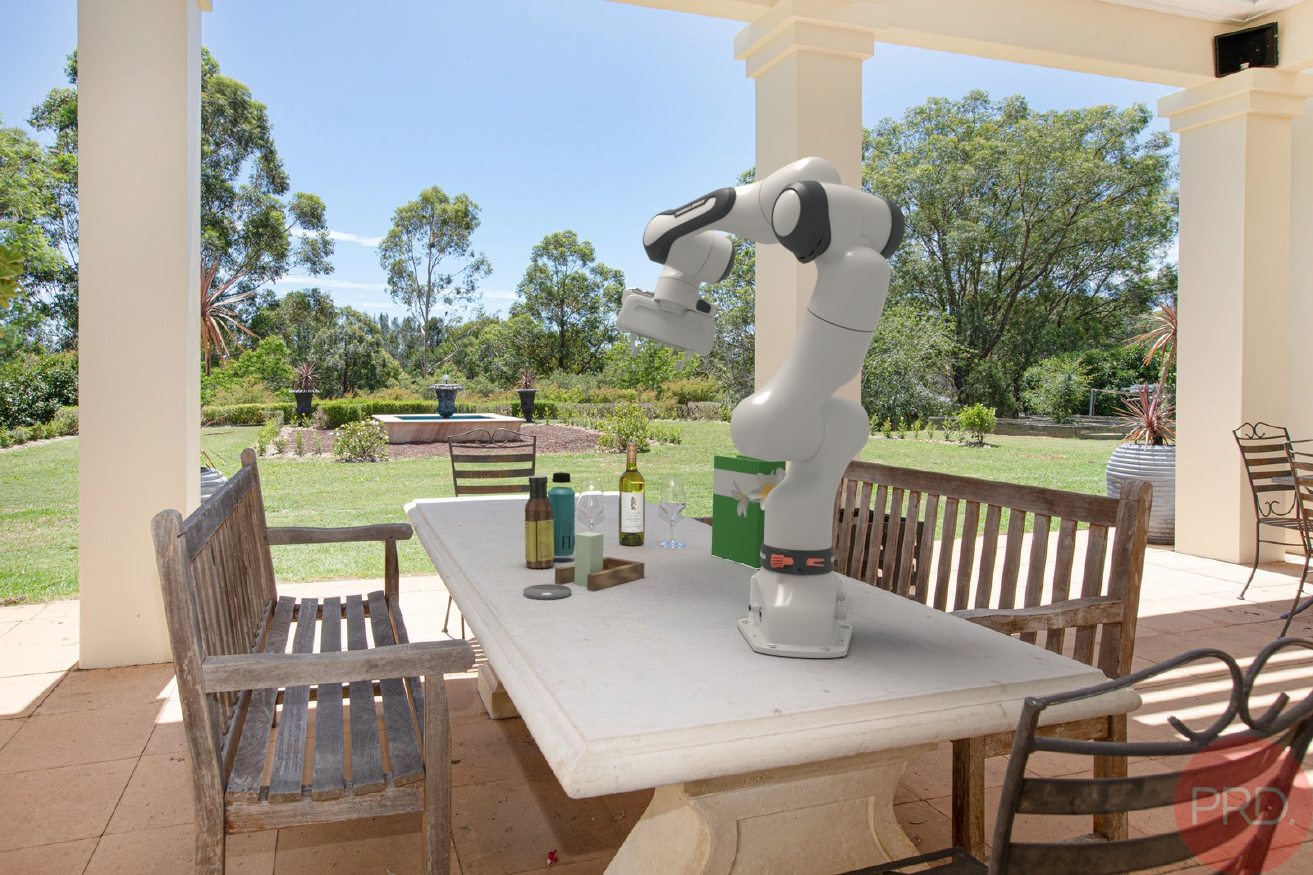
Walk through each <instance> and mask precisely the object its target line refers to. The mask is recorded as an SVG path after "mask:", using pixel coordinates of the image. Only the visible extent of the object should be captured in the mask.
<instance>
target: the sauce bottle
mask: <svg viewBox="0 0 1313 875" xmlns="http://www.w3.org/2000/svg"><path fill="white" fill-rule="evenodd" d="M548 482H549V481H548V476H546V475H530V476H528V483H529V499H528V500H527V502H526V503H525V506H524V533H525V534H524V544H525V545H524V546H525V547H524V549H525V550H524V551H525V562H526V567H528V568H529V569H536V568H538V569H540V570H541V568H543V569H549V568H552V567H553V566H554V564H555V556H554V525H553V510H552V505H551V504H550V501H549V499H548V487H547V485H548ZM538 569H537V570H538Z"/></svg>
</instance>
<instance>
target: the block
mask: <svg viewBox="0 0 1313 875" xmlns="http://www.w3.org/2000/svg"><path fill="white" fill-rule="evenodd" d="M574 537H575V547H574V549H575V550H574V564H575V580H574V581H573V582H574V584H575V585H579V586H584V587H585V586H586V587H587V575H588V574H592V573H596V572H600V571H603V558H604V533H599V532H593V531H585V532H581V533H580V532H579V533H575V535H574Z"/></svg>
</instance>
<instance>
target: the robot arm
mask: <svg viewBox="0 0 1313 875" xmlns="http://www.w3.org/2000/svg"><path fill="white" fill-rule="evenodd" d="M905 222H906V220H905V216H904V213H903V211H902V209H901V208H900V206H899V205H898V204H897V203H895V202H894V201H892V200H890V199H889V198H888V197H887V198H886V197H885V196H883V195H881V194H876V193H870V192H866V191H863V190H860V189H859V190H858V189H855V188H853V187H851V186H849V185H842V180H841V177H840V174H839V172H838V170H837V169H836V167H835V166H834V165H833V164H832V163H831V162H830V161H829V160H827V159H825V158H823V157H821V156H806V157H804V158H802V159H798V160H796V161H793V162H791V163H789V164H787V165H784V166H783V167H781V168H779V169H777V170H776V171H774V172H773V173H771V174H770V175H768V176H767V177H765V178H763V179H761V180H758V181H755V182H752V183H748V184H744V185H739V186H730V187H729V186H728V187H722V188H719V189H715V190H713V191H711V192H709V193H706V194H704V195H702V196H701V197H698V198H696V199H694V200H692V201H690V202H688V203H686V204H684V205H682V206H680V207H677V208H674V209H667V210H664V211H661V212H660V213H657V214H656V215H655V216H653V217H652V218H651V219H650V221H648V224H647V225H646V226H645V229H644V232H643V235H642V245H643V248H644V250H645V254H646V255H647V257H648V259H649V261H651V262H654V263H657V264H660V265H662V266H663V268H662V271H661V274H660V275H659V276H658V279H657V282H656V285H655V289H654V292H653V291H648V290H644V289H642V288H638V287H637V286H633V287H629V288H627V289H625V290H624V291H623V293H622V297H621V300H620V302H621V305H622V306H621V308H620V311H619V312H618V316H617V318H616V320H615V326H616V329H617V330H618V331H621V332H623V333H627V334H630V336H629V338H628V340H629V343H630V348H631V350H630V353H629V357H631V358H634V359H637V358H638V355H639V352H640V348H638V347H636V344H635V343H636V342H635V341H637V340H638V339H637V338H638V337H640V338H643V339H647V340H650V341H654V342H657V343H658V344H659V343H660V344H663V345H665V346H669V347H673V348H675V349H679V350H682V351H684V354H683V355H684V356H685V357H684V358H683V359H682V360H680V361H679V360H676V362H675V366H674V369H673V370H674V371H676V372H679V373H680V372H682V370H683V367H684V364H685V363H687V361H689V360H690V358H692V357H693V356H692V355H693V354H695V355H698V356H701V357H706V356H709V355H710V354H711V352H712V350H713V346H714V342H715V336H716V323H715V322H716V321H715V320H714V318H715V316H716V314H717V308H716V306H715V305H713V304H712V303H711V302H709V301H708V300H706V299H705V298H703V297H702V296H701V295H700V288H701V284H702V283H706V284H711V285H713V284H718V283H719V282H723V281H724V280H726V279H727V278H728V277H729V276H730V275H731V273H732V271H733V268H734V266H735V261H736V249H735V245H734V244H733V241H732V240H730V239H729V238H727V237H726V236H724V235H722V234H720V233H718V231H719V232H724V233H728V234H731V235H735V236H738V237H741V238H744V239H746V240H749V241H751V242H755V243H758V244H761V245H762V244H763V245H776V244H780V245H781V246H783V248H785V249H786V250H788V251H789V252H790V253H792V254H793V255H794V257H795V258H796V260H797V261H798V262H799V263H801V264H802V265H803V264H809V263H811V262H814V264H815V268H816V269H817V271H816V272H817V278H816V281H815V282H816V283H815V285H814V289H813V291H812V294H811V296H810V298H809V302H808V304H807V307H806V310H805V313H804V315H803V319H802V320H801V321H802V322H801V324H800V326H799V329H798V331H797V334H796V337H795V339H794V342H793V344H792V346H791V348H790V351H789V353H788V355H787V356H786V358H785V359H784V360H783V362H782V364H780V367H779V368H777V370H776V371H775V373H773V375H772V376H771V377H770V378H769V379H768V380H767V381H766V383H764V385H763V386H761V387H760V388H759V389H758V390H756V391H755V392H754V393H752V394H750V395H749V396H746V397H745V398H743V399H742V400H740V402H738V404H737V405H736V407H735V408H734V409H733V412H732V414H731V417H730V418H731V419H730V422H729V423H730V424H729V430H730V436H731V437H730V438H731V440H732V443H733V444H734V446H735V448H736V449H737V451H738V452H739V453H740V455H743V456H747V457H750V458H754V459H759V460H764V461H769V462H779V461H786V462H790V464H789V467H788V470H787V471H786V473H787V474H786V476H785V477H784V479H783V480H782V481H781V483H780V484H778V485H777V486H776V487H774V488H773V489H772V490H771V491H770V492H769V494H768V495H767V497H766V501H765V521H764V542H763V543H762V544H761V550H760V556H761V558H760V564H761V566H762V567H761V568H760V570H757V572H756V573H754V574H753V575H752V576H751V578H750V594H749V605H748V611H749V613H748V614H749V615H748V617H742V618H739V619H737V625H736V626H737V628H738V630H740V632H741V633H742V635H743V637H744V638H745V639H746V641H747V643H748V645H749V646H750V647H751V649H752V650H753V651H754V652H757V653H761V654H767V655H773V656H780V657H791V658H804V659H805V658H806V659H807V658H810V659H811V658H812V659H827V658H828V659H830V658H831V659H833V658H841V656H842V657H846V656H847V655H848V651H849V647H850V645H849V644H850V643H851V640H852V637H853V634H852V633H854V631H853V630H854V628H853V625H852V624H850V623H845V622H841V620H842V621H845V620H848V605H846V604H841V602H844V601H845V596H846V595H845V592H843V591H842V580H841V579H840V578H839V577H838V576H836V575H835V573H834V569H835V559H836V558H835V557H836V556H835V547H834V546H833V545H832V544H833V542H832V540H833V525H834V524H833V522H834V512H835V511H834V510H835V501H836V498H837V497H836V496H837V492H838V489H839V485H840V484H841V481H842V478H843V477H844V475H845V472H846V469H847V468H848V466H849V465H850V463H851V461H853V459H854V458H855V457H856V456H857V455H858V454H859V453H861V451H862V450H863V448H865V446H866V445H867V443H868V440H869V437H870V433H871V422H870V418H869V415H868V412H867V410H866V409H865V407H864V406H863V405H862V404H860V403H859V402H858V401H856V400H853V399H851V398H850V399H849V398H847V397H843V396H840V395H836V394H835V393H836V392H837V391H838V390H839V389H841V388H842V387H843V386H845V385H847V384H848V383H850V382H852V381H853V380H854V379H855V378H856V377H858V375H859V373H860V371H861V370H862V367H863V364H864V362H865V359H866V356H867V355H868V352H869V349H870V347H871V345H872V344H871V343H872V341H873V339H874V337H875V334H876V331H877V328H878V327H879V323H880V319H881V317H882V314H883V310H884V308H885V303H886V300H887V296H888V291H889V286H890V280H891V273H892V272H891V267H890V264H889V262H888V261H887V260H888V259H890V258H891V257H892V256H893V255H894V254H895V253H896V252H897V251H898V249H899V248H900V246H901V245H902V241H903V239H904V235H905V229H906V225H905ZM716 231H717V232H716ZM851 636H852V637H851ZM845 655H846V656H845Z"/></svg>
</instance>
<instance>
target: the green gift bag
mask: <svg viewBox="0 0 1313 875" xmlns="http://www.w3.org/2000/svg"><path fill="white" fill-rule="evenodd" d="M778 468H782V469H783V470H784V471H785V472H786V473H787V471H786V470H787V461H779V462H769V461H764V460H759V459H754V458H750V457H747V456H744V455H742V454H736V457H730V456H723V455H714V456H713V482H712V483H713V485H712V487H713V490H712V520H711V521H712V526H711V527H712V528H711V530H712V531H711V556H712V555H715V556H718V557H721V558H723V559H729V560H732V561H735V562H738V563H744V564H746V565H749V566H752V567H754V568H761V567H762V566H761V564H760V558H761V556H760V550H761V544H762V543H763V542H764V521H765V510H762V509H761V508H760V502H761V500H762V499H761V500H759V501H757V502H755V503H753V504H752V502H753V501H754V500H755V499H750V500H749V503H748V507H747V513H746V518H745V516H744V513H743V511H742V513H741V515H740V516H739V515H738V513H737V506H738V503H739V502H740V501H741V500H736V499H734V498H733V496H732V494H731V490H732V489H734V490H737V489H736V487H735V485H734V483H733V479H734V480H735V481H736V482H737V483H738V484H739V486H740V487H741V488H742V489H743V490H744V491H745V492H747V493H748V492H749V491H751V490H753V489H761V488H760V487H759V485H758V484H757V481H756V475H757V474H758V473H762V474H764V475H765V476H766V477H767V479H768V481H769V478H770V475H771V473H772V471H773V470H774V472H773V476H774V475H776V470H777V469H778ZM738 491H739V490H738ZM743 510H744V509H743ZM723 559H722V560H723Z"/></svg>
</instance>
